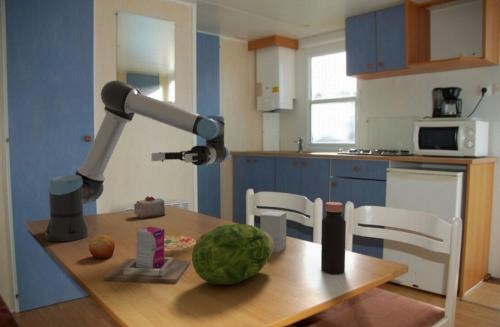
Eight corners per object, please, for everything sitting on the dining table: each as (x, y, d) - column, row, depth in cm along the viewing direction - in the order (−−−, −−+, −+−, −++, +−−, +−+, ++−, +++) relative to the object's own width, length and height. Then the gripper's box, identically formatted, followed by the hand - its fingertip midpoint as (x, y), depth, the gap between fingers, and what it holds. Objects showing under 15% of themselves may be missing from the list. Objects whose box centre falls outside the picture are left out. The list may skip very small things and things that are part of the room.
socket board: (104, 280, 107) (104, 271, 107) (127, 261, 123) (127, 253, 123) (176, 283, 105) (176, 273, 105) (190, 263, 121) (190, 255, 121)
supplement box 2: (286, 247, 140) (287, 212, 139) (279, 253, 133) (279, 216, 132) (267, 244, 143) (267, 210, 142) (259, 250, 136) (259, 214, 135)
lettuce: (288, 273, 113) (289, 220, 112) (220, 300, 94) (220, 237, 93) (251, 261, 124) (251, 213, 123) (182, 284, 104) (182, 227, 103)
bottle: (340, 276, 111) (341, 206, 110) (317, 272, 115) (318, 203, 113) (347, 269, 117) (349, 202, 115) (326, 265, 120) (327, 200, 119)
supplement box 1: (150, 273, 110) (150, 232, 109) (135, 269, 113) (135, 230, 112) (165, 267, 115) (164, 228, 114) (150, 263, 118) (149, 226, 117)
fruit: (124, 248, 132) (115, 231, 127) (111, 267, 126) (101, 249, 121) (104, 246, 134) (95, 229, 130) (90, 264, 128) (80, 247, 124)
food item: (139, 219, 185) (139, 198, 184) (133, 216, 191) (132, 196, 191) (166, 216, 193) (166, 196, 193) (159, 213, 200) (159, 194, 199)
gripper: (231, 166, 146) (200, 170, 127) (175, 163, 156) (139, 167, 137) (231, 145, 145) (200, 147, 126) (175, 144, 156) (139, 145, 137)
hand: (168, 157), depth 132 cm, fingers open, 13 cm apart
